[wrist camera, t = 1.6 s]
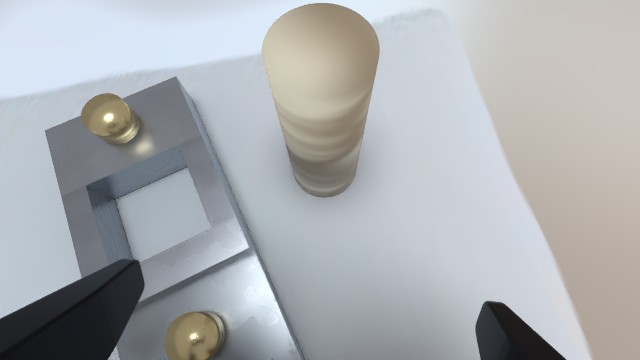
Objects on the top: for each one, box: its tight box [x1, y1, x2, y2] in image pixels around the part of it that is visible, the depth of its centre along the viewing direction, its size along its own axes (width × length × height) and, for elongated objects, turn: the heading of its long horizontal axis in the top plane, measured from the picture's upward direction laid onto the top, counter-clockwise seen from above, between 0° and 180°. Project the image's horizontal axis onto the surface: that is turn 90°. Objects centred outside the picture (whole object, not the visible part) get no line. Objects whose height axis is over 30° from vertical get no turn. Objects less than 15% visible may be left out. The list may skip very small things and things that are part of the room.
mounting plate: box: [45, 77, 305, 360], centre depth 20 cm, size 9×22×5 cm, turn 27°
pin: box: [262, 3, 380, 197], centre depth 18 cm, size 4×4×12 cm
